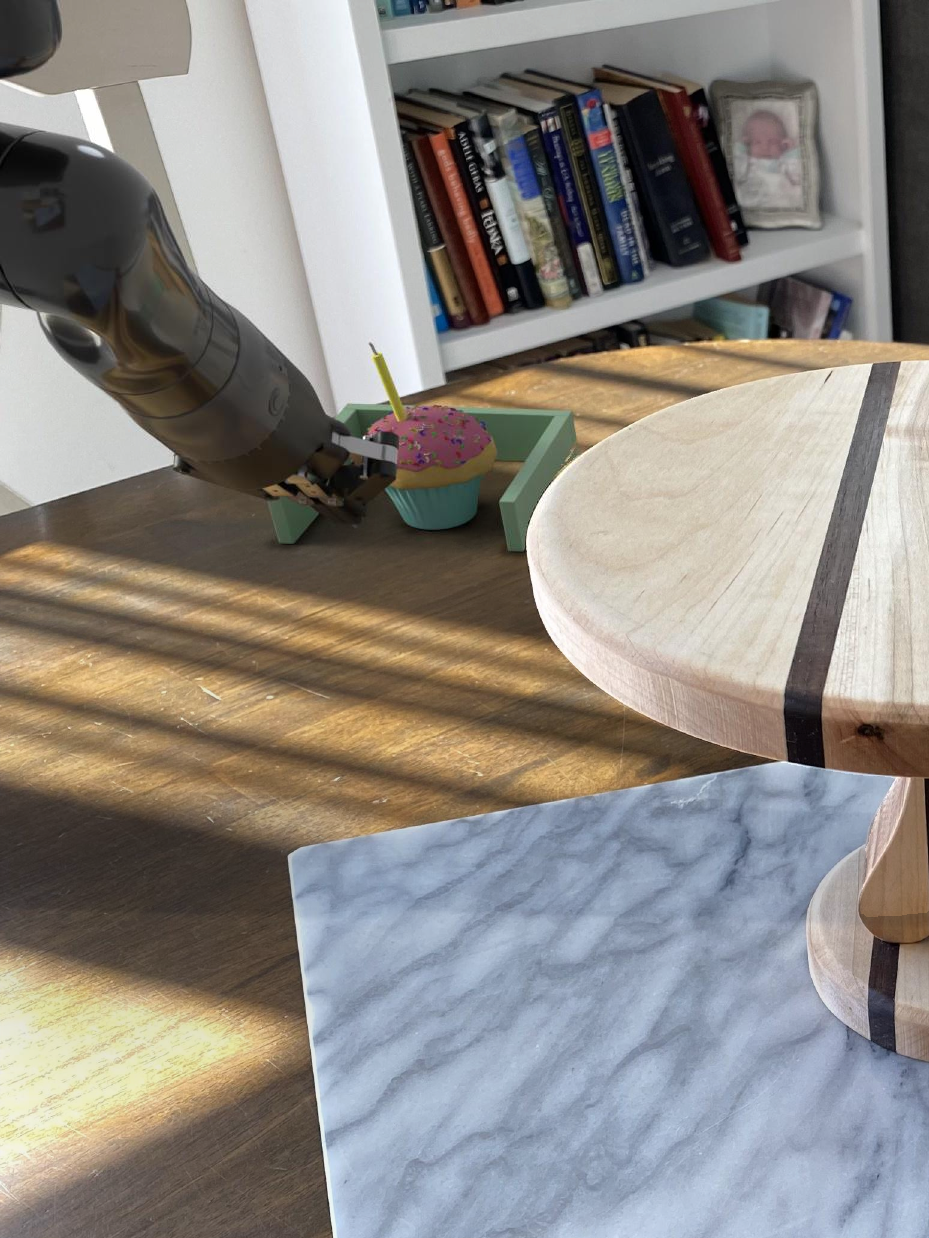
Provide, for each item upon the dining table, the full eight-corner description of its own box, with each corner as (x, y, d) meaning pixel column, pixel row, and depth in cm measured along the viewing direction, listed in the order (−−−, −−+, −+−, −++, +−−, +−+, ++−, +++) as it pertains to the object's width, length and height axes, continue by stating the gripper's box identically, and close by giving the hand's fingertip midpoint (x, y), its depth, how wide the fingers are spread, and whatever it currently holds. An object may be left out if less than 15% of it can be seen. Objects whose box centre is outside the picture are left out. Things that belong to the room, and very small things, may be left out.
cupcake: (393, 553, 109) (350, 371, 101) (359, 503, 114) (316, 327, 107) (523, 525, 112) (491, 347, 105) (484, 478, 118) (451, 305, 110)
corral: (523, 552, 109) (514, 501, 107) (278, 543, 109) (264, 493, 107) (579, 457, 121) (572, 410, 119) (358, 450, 121) (347, 403, 119)
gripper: (349, 321, 85) (463, 452, 102) (89, 313, 85) (246, 445, 103) (337, 464, 84) (454, 572, 102) (74, 455, 84) (235, 565, 102)
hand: (349, 508), depth 102 cm, fingers closed
